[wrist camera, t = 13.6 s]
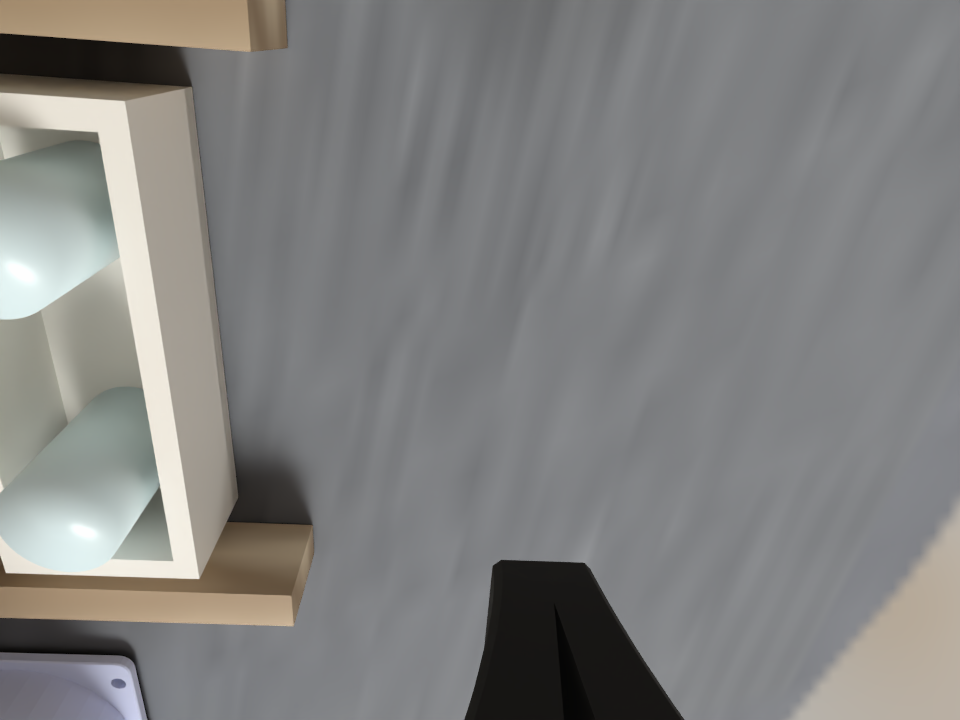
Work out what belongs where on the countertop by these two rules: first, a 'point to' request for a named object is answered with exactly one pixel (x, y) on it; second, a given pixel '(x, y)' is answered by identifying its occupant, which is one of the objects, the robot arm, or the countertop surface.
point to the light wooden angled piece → (241, 546)
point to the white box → (108, 334)
